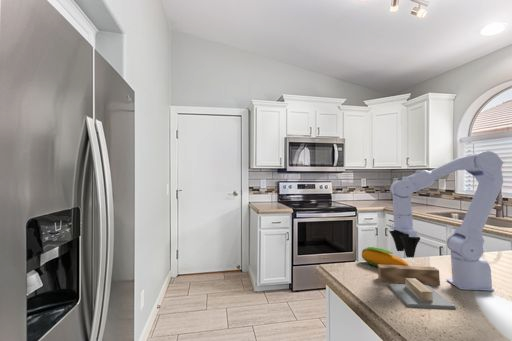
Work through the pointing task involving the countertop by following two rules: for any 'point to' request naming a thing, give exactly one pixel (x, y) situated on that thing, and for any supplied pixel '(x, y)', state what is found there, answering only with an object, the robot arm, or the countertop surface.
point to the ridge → (419, 289)
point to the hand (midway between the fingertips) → (405, 253)
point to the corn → (381, 257)
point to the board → (413, 301)
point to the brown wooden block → (408, 274)
